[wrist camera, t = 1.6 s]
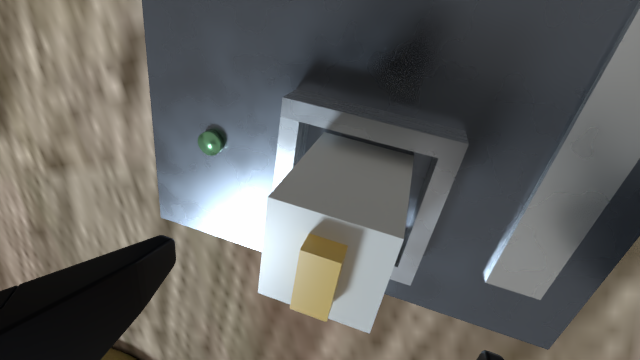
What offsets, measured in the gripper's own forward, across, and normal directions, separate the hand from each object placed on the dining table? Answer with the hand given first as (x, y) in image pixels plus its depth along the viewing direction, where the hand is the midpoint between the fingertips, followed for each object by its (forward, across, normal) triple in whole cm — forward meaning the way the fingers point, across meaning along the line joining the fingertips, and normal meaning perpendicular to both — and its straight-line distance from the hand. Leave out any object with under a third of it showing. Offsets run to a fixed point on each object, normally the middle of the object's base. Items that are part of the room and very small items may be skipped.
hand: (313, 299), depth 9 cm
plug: (+7, 0, 0) cm, 7 cm away
